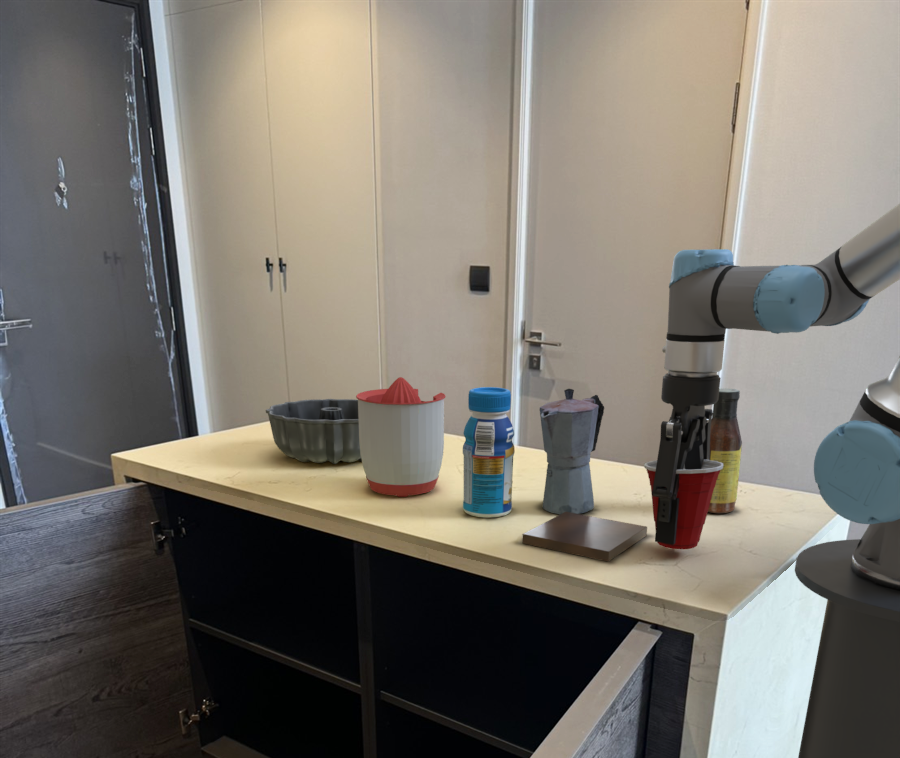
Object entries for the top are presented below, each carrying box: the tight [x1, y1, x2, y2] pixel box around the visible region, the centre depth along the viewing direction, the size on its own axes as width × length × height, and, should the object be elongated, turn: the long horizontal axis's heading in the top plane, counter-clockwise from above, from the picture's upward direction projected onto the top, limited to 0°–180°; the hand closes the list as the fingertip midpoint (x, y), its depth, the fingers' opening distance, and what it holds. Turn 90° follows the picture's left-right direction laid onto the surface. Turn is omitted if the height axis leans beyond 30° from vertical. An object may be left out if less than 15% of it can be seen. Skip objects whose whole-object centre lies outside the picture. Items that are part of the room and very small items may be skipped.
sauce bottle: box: [708, 388, 743, 514], centre depth 142 cm, size 7×6×20 cm
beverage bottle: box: [462, 386, 515, 519], centre depth 140 cm, size 8×8×20 cm
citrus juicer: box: [355, 376, 446, 498], centre depth 154 cm, size 16×17×20 cm
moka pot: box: [539, 388, 605, 515], centre depth 143 cm, size 10×15×20 cm, turn 137°
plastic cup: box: [643, 459, 724, 550], centre depth 122 cm, size 11×11×12 cm
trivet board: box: [521, 512, 648, 562], centre depth 131 cm, size 14×14×2 cm
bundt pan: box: [265, 398, 362, 465], centre depth 179 cm, size 26×26×10 cm
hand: (677, 533), depth 124 cm, fingers closed on plastic cup, 9 cm apart
